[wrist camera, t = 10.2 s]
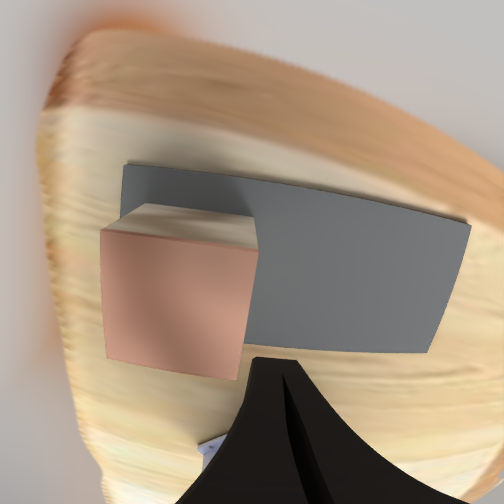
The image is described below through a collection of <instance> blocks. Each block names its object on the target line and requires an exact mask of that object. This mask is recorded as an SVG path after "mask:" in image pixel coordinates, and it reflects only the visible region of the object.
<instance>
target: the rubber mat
mask: <svg viewBox="0 0 504 504" xmlns="http://www.w3.org/2000/svg"><path fill="white" fill-rule="evenodd" d="M145 203H150V204H158V205H166V206H174V207H182V208H190V209H198V210H205V211H213V212H220V213H227V214H234V215H242V216H248V217H254V221H255V228H256V236H257V243H258V250H259V254H258V260H257V266H256V272H255V278H254V284H253V290H252V295H251V301H250V307H249V313H248V319H247V325H246V330H245V336H244V342H243V343H246V344H255V345H265V346H275V347H286V348H297V349H311V350H326V351H344V352H370V353H427V351H428V349H429V347H430V345H431V343H432V340H433V338H434V336H435V333H436V331H437V329H438V326H439V324H440V321H441V319H442V316H443V314H444V311H445V309H446V306H447V303H448V301H449V298H450V295H451V293H452V290H453V287H454V284H455V281H456V278H457V275H458V272H459V269H460V266H461V263H462V259H463V256H464V253H465V249H466V246H467V242H468V238H469V235H470V231H471V227H472V226H471V225H469V224H466V223H462V222H459V221H455V220H451V219H447V218H444V217H440V216H436V215H432V214H428V213H424V212H420V211H416V210H412V209H407V208H403V207H399V206H395V205H390V204H386V203H381V202H377V201H372V200H367V199H363V198H358V197H353V196H348V195H343V194H338V193H333V192H328V191H322V190H317V189H312V188H306V187H300V186H294V185H289V184H283V183H276V182H270V181H264V180H257V179H251V178H244V177H237V176H229V175H222V174H214V173H206V172H198V171H190V170H181V169H171V168H162V167H151V166H140V165H128V164H127V165H124V169H123V180H122V193H121V209H120V218H122V217H123V216H125V215H126V214H128V213H130V212H131V211H133V210H135V209H136V208H138V207H140V206H141V205H143V204H145Z"/></svg>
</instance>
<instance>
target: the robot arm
mask: <svg viewBox="0 0 504 504" xmlns="http://www.w3.org/2000/svg"><path fill="white" fill-rule="evenodd" d="M197 450H198V451H199V452H200V453H201V454H203V455H204V457H203V466H202V473H201V474H200V476H199V477H198V478H197V479H196V480H195V482H194V483H193V484H192V485H191V486H190V487H189V489H188V490H187V491H186V492H185V493H184V494H183V495H182V496H181V498H180V499H179V500H178V501H177V502H176V503H175V504H469V503H467V502H464V501H461V500H459V499H456V498H454V497H451V496H449V495H446V494H444V493H441V492H439V491H437V490H435V489H433V488H431V487H429V486H427V485H425V484H424V483H422V482H420V481H418V480H416V479H415V478H413V477H411V476H410V475H408V474H406V473H405V472H403V471H402V470H400V469H399V468H398V467H396V466H395V465H393V464H392V463H390V462H389V461H388V460H386V459H385V458H384V457H382V456H381V455H380V454H378V453H377V452H376V451H375V450H374V449H373V448H371V447H370V446H369V445H368V444H367V443H366V442H365V441H363V440H362V439H361V438H360V437H359V436H358V435H357V434H356V433H355V432H354V431H353V430H352V429H351V428H350V427H349V426H348V425H347V424H346V423H345V422H344V421H343V420H342V418H341V417H340V416H339V415H338V414H337V413H336V412H335V410H334V409H333V408H332V407H331V405H330V404H329V403H328V402H327V400H326V399H325V398H324V397H323V395H322V394H321V393H320V392H319V390H318V389H317V388H316V386H315V385H314V383H313V382H312V381H311V379H310V378H309V377H308V375H307V374H306V372H305V371H304V369H303V368H302V367H301V365H300V364H299V363H298V361H297V360H288V359H276V358H265V357H255V358H253V359H252V363H251V368H250V373H249V378H248V383H247V388H246V393H245V397H244V401H243V403H242V406H241V408H240V410H239V412H238V414H237V417H236V419H235V421H234V423H233V425H232V427H231V429H230V430H229V432H228V434H225V435H223V436H220V437H218V438H216V439H213V440H211V441H208V442H206V443H203V444H201V445H199V446H198V448H197Z"/></svg>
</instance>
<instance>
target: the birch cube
mask: <svg viewBox="0 0 504 504" xmlns="http://www.w3.org/2000/svg"><path fill="white" fill-rule="evenodd" d="M258 254H259V250H258V243H257V236H256V228H255V221H254V217H248V216H242V215H234V214H227V213H220V212H213V211H205V210H198V209H190V208H182V207H174V206H166V205H158V204H150V203H145V204H143V205H141V206H140V207H138V208H136V209H135V210H133V211H131V212H130V213H128V214H126V215H125V216H123V217H122V218H120V219H118V220H117V221H115V222H113V223H112V224H110V225H109V226H107V227H105V228H104V229H102V230H101V235H100V259H101V292H102V310H103V323H104V335H105V345H106V354H107V358H108V359H113V360H117V361H121V362H126V363H131V364H135V365H140V366H145V367H150V368H156V369H161V370H166V371H172V372H178V373H184V374H191V375H197V376H204V377H212V378H219V379H227V380H236V381H237V376H238V371H239V365H240V359H241V353H242V348H243V342H244V336H245V330H246V325H247V319H248V313H249V307H250V301H251V295H252V290H253V284H254V278H255V272H256V266H257V260H258Z"/></svg>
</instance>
